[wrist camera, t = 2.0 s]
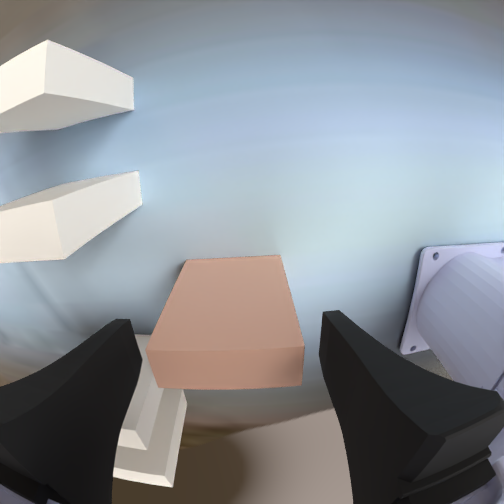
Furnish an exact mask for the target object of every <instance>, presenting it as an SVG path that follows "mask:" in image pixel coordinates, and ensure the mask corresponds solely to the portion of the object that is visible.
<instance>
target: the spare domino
mask: <svg viewBox="0 0 504 504" xmlns="http://www.w3.org/2000/svg"><path fill="white" fill-rule="evenodd" d="M304 349H305V345H304V341H303V338H302V334H301V330H300V326H299V322H298V318H297V315H296V311H295V307H294V303H293V300H292V296H291V292H290V289H289V285H288V281H287V278H286V274H285V270H284V267H283V263H282V260H281V256H280V255H270V256H251V257H232V258H212V259H192V260H186V262H185V264H184V266H183V268H182V270H181V272H180V274H179V276H178V278H177V280H176V282H175V285H174V287H173V289H172V291H171V293H170V295H169V297H168V300H167V302H166V304H165V306H164V308H163V310H162V313H161V315H160V317H159V319H158V322H157V324H156V326H155V328H154V331H153V333H152V335H151V337H150V340H149V342H148V344H147V347H146V349H145V351H146V354H147V357H148V360H149V363H150V366H151V369H152V372H153V375H154V377H155V380H156V383H157V386H158V388H172V389H204V390H225V389H258V388H275V387H288V386H299V385H302V375H303V363H304Z"/></svg>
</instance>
